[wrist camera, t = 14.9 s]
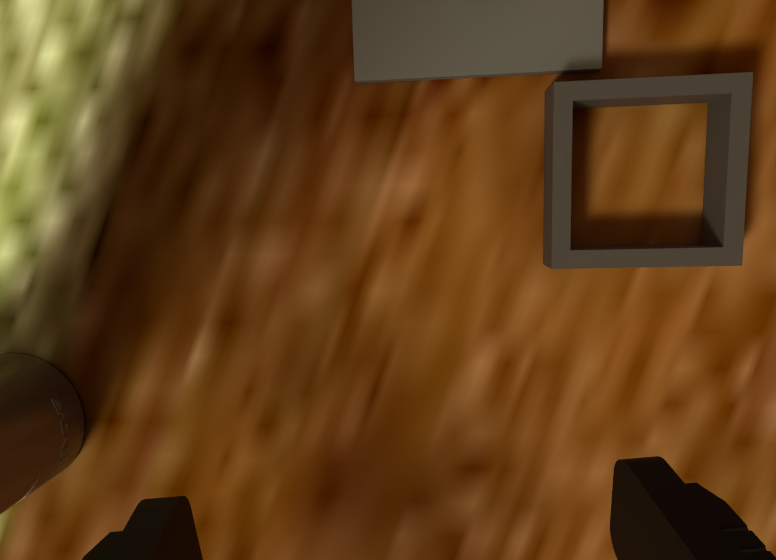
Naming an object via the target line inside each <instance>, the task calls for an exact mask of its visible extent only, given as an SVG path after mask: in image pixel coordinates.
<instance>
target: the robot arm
mask: <svg viewBox="0 0 776 560" xmlns="http://www.w3.org/2000/svg"><path fill="white" fill-rule="evenodd" d="M83 437H84V414H83V410H82V405H81V403H80V400H79V398H78V396H77V393H76V391H75V390H74V388H73V387H72V385H71V384H70V382H69V381H68V380H67V379H66V378H65V377H64V376H63V375H62V374H61V373H60V371H59V370H57V369H56V368H55V367H53V366H52V365H50V364H49V363H47V362H46V361H43V360H41V359H39V358H36V357H34V356H31V355H26V354H21V353H6V354H2V355H0V514H1V513H3V512H4V511H6V510H7V509H9V508H10V507H11V506H13V505H14V504H16V503H17V502H19V501H20V500H22V499H23V498H25V497H26V496H28V495H29V494H30V493H32V492H33V491H35V490H36V489H38V488H39V487H40V486H42V485H43V484H45V483H46V482H47V481H49V480H50V479H52V478H53V477H55V476H56V475H57V474H59V473H60V472H62V471H63V470H64V469H65V468H67V467H68V466H69V465H70V464H71V462H72V461H73V460H74V459H75V457H76V456H77V454H78V452H79V450H80V448H81V445H82V441H83ZM610 533H611V539H612V544H613V548H614V551H615V554H616V557H617V559H618V560H776V557H775V556H774V555H773V554H772V553H771V552H770V551H767V550H766V548H765V545H764V544H763V543H762V542H761V541H760V539H759V538H758V537H757V536H756V535H755V534H754V533H753V532H752V531H749V530H748V528H747V525H746V524H745V523H744V522H743V521H742V519H741V518H740V517H739V516H738V515H737V514H736V513H735V512H734V511H733V510H732V508H731V507H730V506H729V505H728V504H727V503H726V502H725V501H724V500H722V499H720V498H719V497H717V496H716V495H714V494H713V493H711V492H710V491H708V490H707V489H705V488H703V487H702V486H700V485H699V484H697V483H687V484H685V483H684V482H683V481H682V480H681V479H680V477H679V476H678V475H677V474H676V473H675V471H674V470H673V469H672V468H671V467H670V465H669V464H668V463H667V462H666V461H665V460H664V459H663V458H661V457H658V456H656V457H644V458H633V459H621V460H618V461H617V462H616V463H615V466H614V475H613V490H612V504H611V518H610ZM82 560H203V558H202V554H201V550H200V545H199V541H198V537H197V532H196V528H195V523H194V519H193V515H192V510H191V506H190V503H189V500H188V499H187V497H185V496H177V497H165V498H154V499H144V500H142V501H141V502H140V503H139V504H138V505H137V507H136V509H135V510H134V512H133V514H132V516H131V517H130V519H129V521H128V523H127V524H126V526H125V528H124V530H123V531H118V532H110V533H109V534H108V535H107V536H106V537H105V538H103V539H102V540H101V541H100V542H99V543H98V544H97V545H96V546H95V547H94V548H93V549H92V550H91V551H89V552H88V553H87V554H86V555H85V556H84V557H83V559H82Z"/></svg>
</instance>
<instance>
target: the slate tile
mask: <svg viewBox="0 0 776 560" xmlns="http://www.w3.org/2000/svg"><path fill="white" fill-rule="evenodd" d="M603 4H604V0H352V23H353V52H354V81H355V83H356V84H361V83H380V82H400V81H419V80H438V79H457V78H477V77H496V76H515V75H534V74H554V73H573V72H592V71H600V70H601V69H602V48H603Z"/></svg>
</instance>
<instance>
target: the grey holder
mask: <svg viewBox="0 0 776 560" xmlns="http://www.w3.org/2000/svg"><path fill="white" fill-rule="evenodd" d="M752 86H753V72H743V73H724V74H704V75H684V76H664V77H644V78H624V79H604V80H585V81H565V82H553V84H552V85H551V86H550V87H549V88H548V89H547V90H546V91H545V130H544V232H543V264H544V265H546V266H548V267H550V268H551V269H561V268H621V267H681V266H741V265H742V257H743V240H744V223H745V206H746V189H747V172H748V155H749V138H750V121H751V104H752ZM705 102H708V114H707V135H706V155H705V176H704V197H703V218H702V238H701V244H685V245H636V246H588V247H570V243H571V182H572V120H573V108H595V107H617V106H639V105H661V104H683V103H705Z"/></svg>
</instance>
